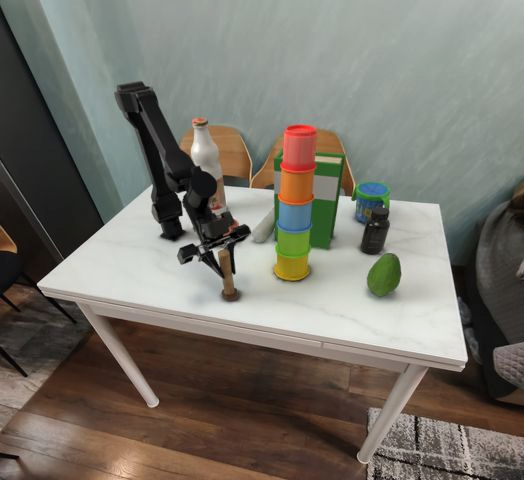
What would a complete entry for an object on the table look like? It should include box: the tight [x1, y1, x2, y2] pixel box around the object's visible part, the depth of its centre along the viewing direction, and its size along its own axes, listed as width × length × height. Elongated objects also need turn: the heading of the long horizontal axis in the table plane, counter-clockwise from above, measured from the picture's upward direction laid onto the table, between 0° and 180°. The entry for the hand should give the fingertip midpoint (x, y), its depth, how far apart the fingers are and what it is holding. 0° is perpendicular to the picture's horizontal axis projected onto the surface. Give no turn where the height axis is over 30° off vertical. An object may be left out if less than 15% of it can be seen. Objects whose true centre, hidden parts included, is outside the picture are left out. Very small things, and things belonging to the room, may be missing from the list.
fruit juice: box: [190, 117, 228, 217], centre depth 103 cm, size 9×9×28 cm
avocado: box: [366, 252, 402, 297], centre depth 77 cm, size 8×8×12 cm
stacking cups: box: [273, 124, 318, 282], centre depth 75 cm, size 10×10×35 cm
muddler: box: [217, 249, 239, 302], centre depth 78 cm, size 4×4×14 cm
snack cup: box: [351, 181, 391, 224], centre depth 102 cm, size 16×10×10 cm
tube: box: [252, 207, 275, 243], centre depth 103 cm, size 5×5×25 cm
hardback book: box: [273, 148, 346, 250], centre depth 90 cm, size 18×7×24 cm, turn 70°
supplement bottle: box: [360, 206, 391, 255], centre depth 90 cm, size 7×7×12 cm
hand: (229, 276), depth 76 cm, fingers closed on muddler, 3 cm apart
